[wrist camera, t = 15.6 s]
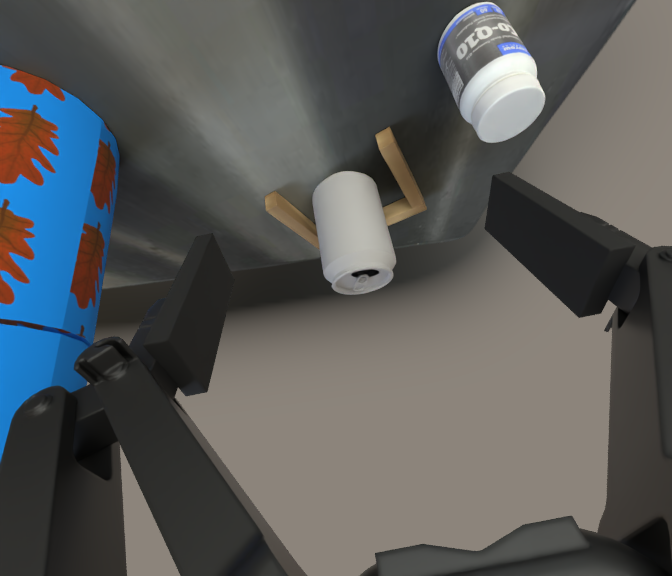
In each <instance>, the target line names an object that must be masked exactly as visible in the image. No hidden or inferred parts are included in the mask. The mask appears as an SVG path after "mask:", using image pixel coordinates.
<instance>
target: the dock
mask: <svg viewBox="0 0 672 576" xmlns="http://www.w3.org/2000/svg"><path fill="white" fill-rule="evenodd" d="M375 137H376V140H377V144H378V147H379V150H380V152H381V154H382V156H383V157H384V159H385V161H386V163H387V164H388V166H389V168H390V170H391V172H392V173H393V175H394V177H395V179H396V181H397V182H398V184H399V186H400V188H401V189H402V191H403V193H404V195H405V198H403V199H400V200H398V201H396V202H394V203H392V204H390V205H387V206H385V207H383V212H384V215H385V219H386V223H387V226H389V225H391V224H394V223H396V222H398V221H401V220H403V219H405V218H408V217H410V216H412V215H415V214H417V213H419V212H422V211H424V210H426V209H427V208H426V205H425V202H424V199H423V196H422V194H421V192H420V190H419V188H418V186H417V184H416V181H415V179H414V177H413V175H412V173H411V171H410V169H409V167H408V165H407V162H406V160H405V158H404V156H403V154H402V152H401V150H400V148H399V145H398V143H397V141H396V139H395V137H394V135H393V133H392V131H391V129H390V127H388V128H386V129H385V130H383V131H381V132H379V133H377V134H376V135H375ZM265 205H266V211H267V212H268V213H270V214H271V215H272V216H274V217H275V218H277V219H278V220H279V221H281V222H282V223H283V224H285V225H286V226H288V227H289V228H290V229H292V230H293V231H294V232H296V233H297V234H299V235H300V236H301V237H303V238H304V239H305V240H307V241H308V242H310V243H311V244H312V245H314V246H315V247H317V248H318V249H319V250H320V247H319V241H318V235H317V228H316V225H315V224H314V223H313V222H312V221H311V220H309V219H308V218H307V217H306V216H305V215H303V214H302V213H301V212H300V211H299V210H297V209H296V208H295V207H294V206H293V205H291V204H290V203H289V202H288V201H287V200H285V199H284V198H283V197H282V196H281V195H279V194H278V193H277V192H276V191H274V192H272V193H270V194H269V195H267V196H265Z"/></svg>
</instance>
